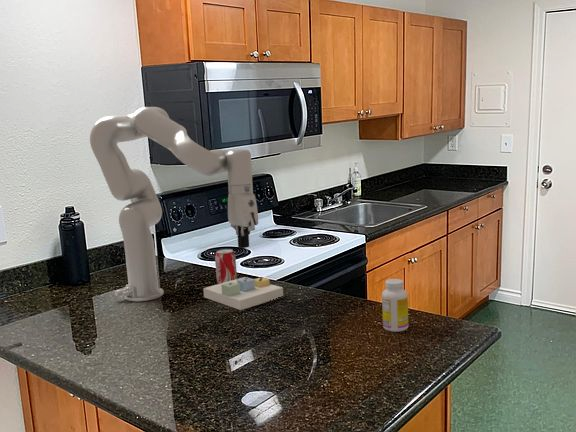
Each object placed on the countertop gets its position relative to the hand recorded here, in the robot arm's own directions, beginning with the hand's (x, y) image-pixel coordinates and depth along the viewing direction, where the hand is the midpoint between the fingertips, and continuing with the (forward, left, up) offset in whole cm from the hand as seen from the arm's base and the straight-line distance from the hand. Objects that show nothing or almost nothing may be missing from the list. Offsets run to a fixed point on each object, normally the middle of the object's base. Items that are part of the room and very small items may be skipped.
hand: (243, 247), depth 186 cm
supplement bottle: (+10, -52, -17) cm, 56 cm away
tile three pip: (+6, 0, -16) cm, 17 cm away
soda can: (+5, +18, -17) cm, 25 cm away
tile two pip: (0, 0, -15) cm, 15 cm away
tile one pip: (-6, 0, -15) cm, 16 cm away
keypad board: (0, +2, -17) cm, 17 cm away
